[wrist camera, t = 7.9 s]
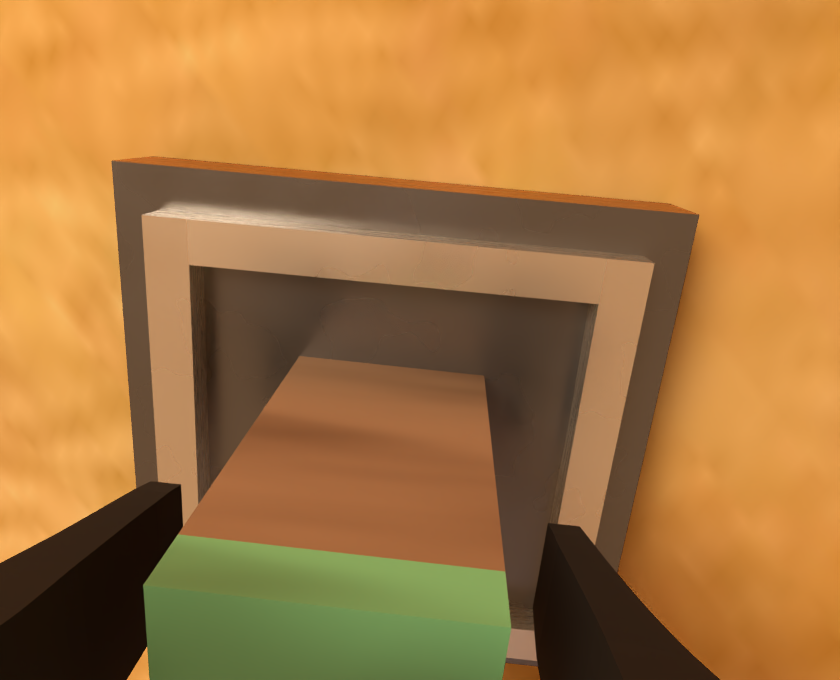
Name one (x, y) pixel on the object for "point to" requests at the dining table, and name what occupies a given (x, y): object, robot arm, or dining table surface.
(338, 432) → the brown and green block
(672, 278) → the gray square tray
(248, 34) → the dining table surface
